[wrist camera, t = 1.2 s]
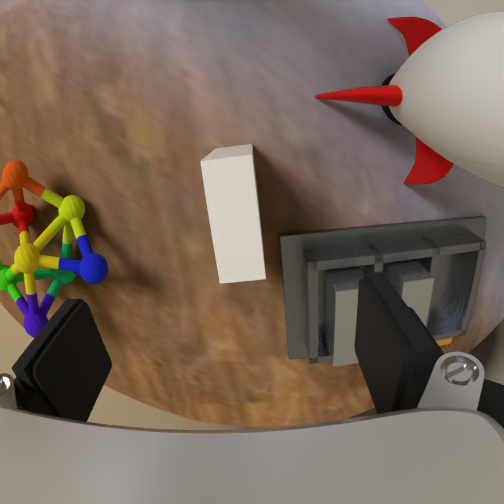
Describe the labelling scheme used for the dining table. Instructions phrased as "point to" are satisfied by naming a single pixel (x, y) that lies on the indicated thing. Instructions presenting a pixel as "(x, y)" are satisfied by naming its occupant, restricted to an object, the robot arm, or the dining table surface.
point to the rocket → (447, 96)
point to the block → (234, 213)
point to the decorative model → (29, 255)
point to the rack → (395, 269)
